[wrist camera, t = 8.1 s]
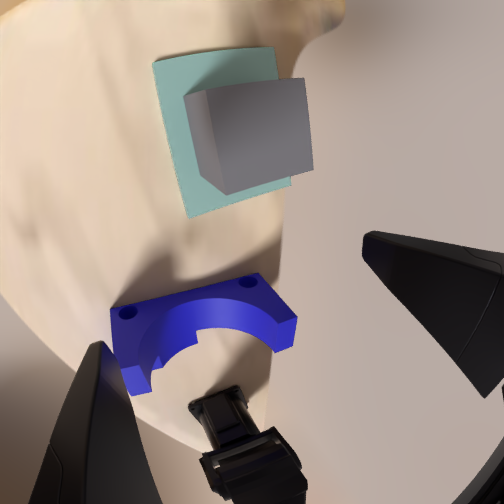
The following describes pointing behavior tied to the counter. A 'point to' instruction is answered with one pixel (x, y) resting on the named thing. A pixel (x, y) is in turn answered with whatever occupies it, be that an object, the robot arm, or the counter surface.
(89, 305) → the counter surface
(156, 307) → the blue arched bracket
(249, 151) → the gray cube block
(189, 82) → the teal board
